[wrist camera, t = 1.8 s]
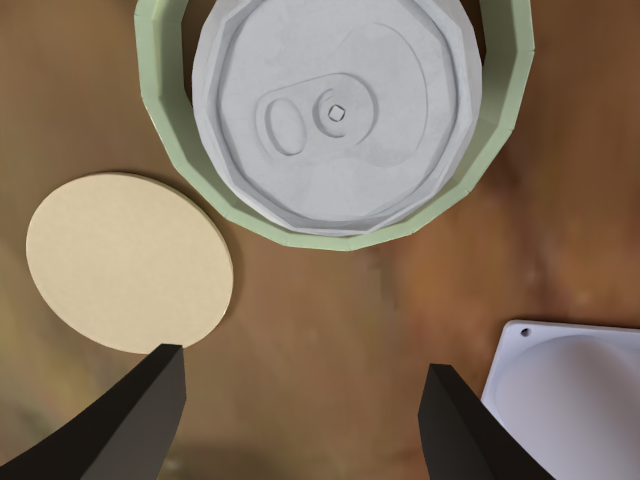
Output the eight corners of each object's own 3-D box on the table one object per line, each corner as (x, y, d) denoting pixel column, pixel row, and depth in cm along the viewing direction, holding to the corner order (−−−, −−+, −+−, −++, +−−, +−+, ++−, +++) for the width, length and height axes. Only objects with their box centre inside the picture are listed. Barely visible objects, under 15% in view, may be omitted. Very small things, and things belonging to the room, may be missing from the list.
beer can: (401, 113, 18) (518, 221, 7) (293, 143, 18) (239, 287, 7) (376, -15, 16) (484, -152, 5) (256, 24, 16) (112, -20, 5)
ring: (542, -120, 14) (592, -160, 12) (458, 232, 20) (478, 262, 17) (154, -158, 14) (112, -207, 11) (177, 209, 20) (153, 236, 17)
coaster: (233, 181, 19) (231, 184, 19) (234, 356, 23) (232, 361, 23) (10, 162, 19) (4, 164, 19) (51, 341, 23) (47, 346, 23)
